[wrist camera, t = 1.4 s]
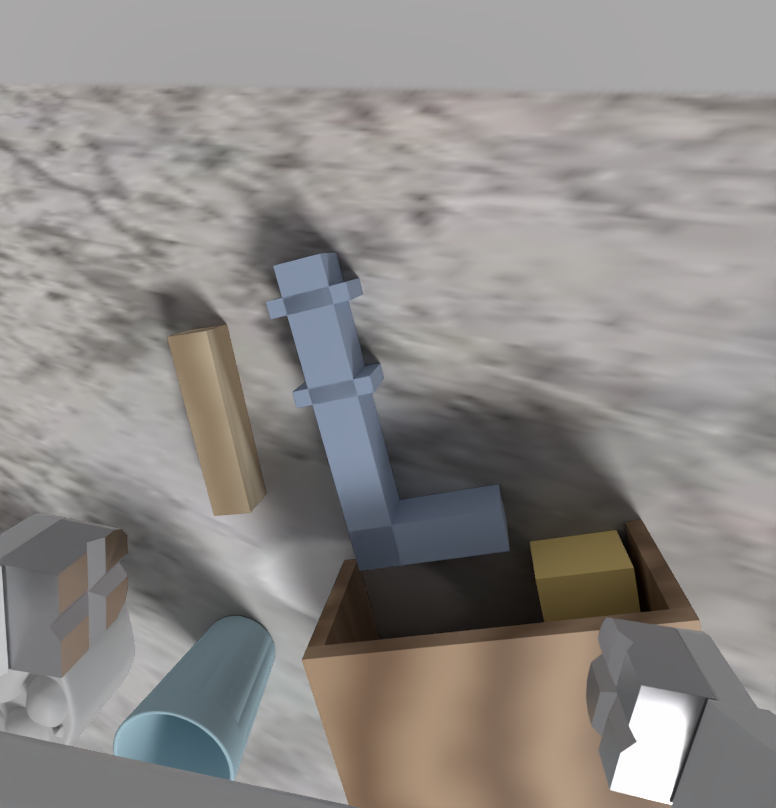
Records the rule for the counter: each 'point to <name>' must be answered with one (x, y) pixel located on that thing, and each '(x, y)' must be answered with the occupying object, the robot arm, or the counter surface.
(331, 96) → the counter surface
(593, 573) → the ochre block
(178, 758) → the cup
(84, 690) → the lumpy-topped squat cylinder
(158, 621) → the counter surface
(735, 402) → the counter surface
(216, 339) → the beech stick
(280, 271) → the crook
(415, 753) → the box
